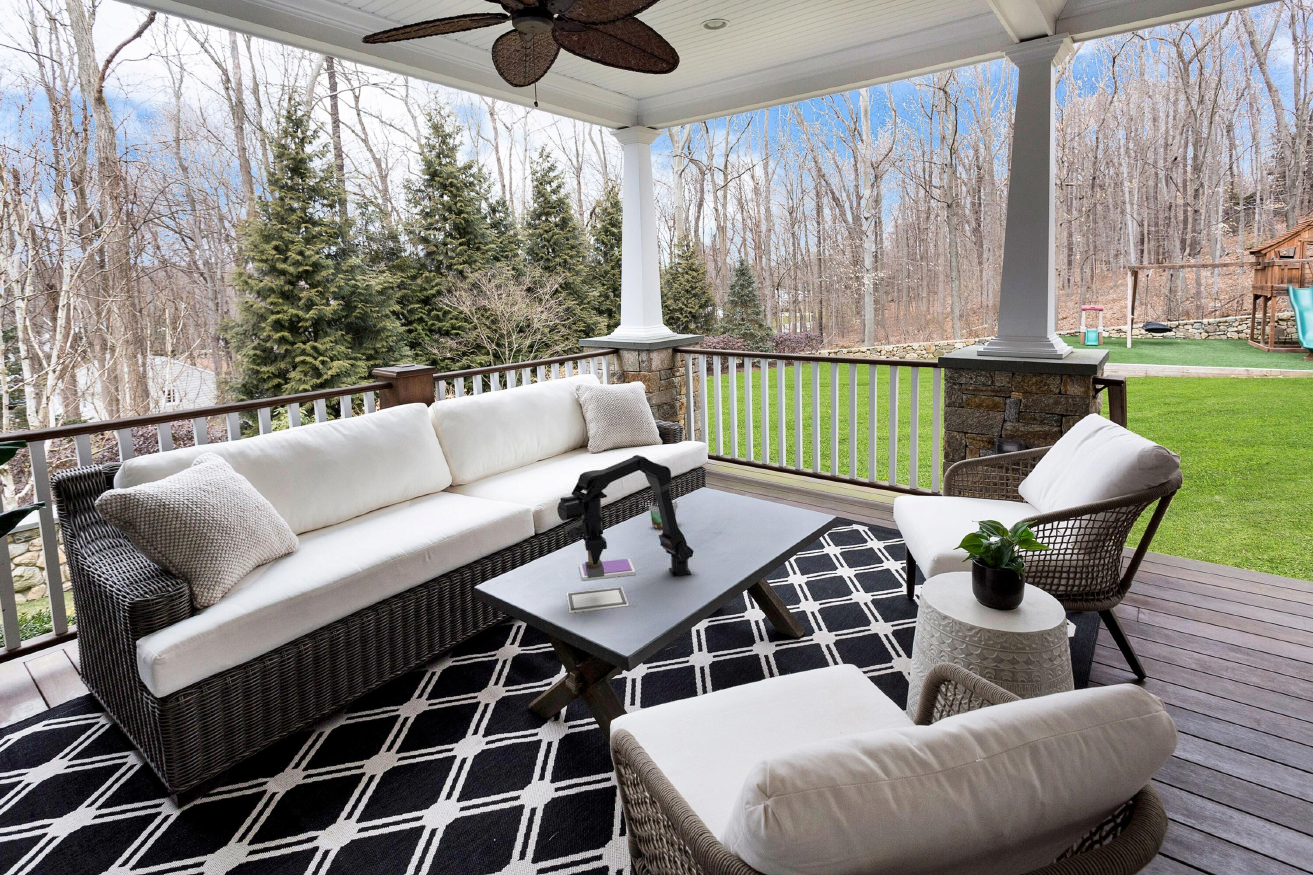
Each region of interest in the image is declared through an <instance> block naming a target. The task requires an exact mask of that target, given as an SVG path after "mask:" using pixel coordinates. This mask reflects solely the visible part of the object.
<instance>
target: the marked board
mask: <svg viewBox="0 0 1313 875" xmlns="http://www.w3.org/2000/svg"><path fill="white" fill-rule="evenodd" d="M566 598H567V599H566V601H567V600H568V601H567V606H568V611H569V614H574V612H576V613H583V612H582V611H584V612H591V611H592V612H593V611H600V610H607V609H608V610H609V609H615V608H623V607H629V606H630V605H629V602H628V599H627V596H626V594H625V592H624V589H623V586H617V587H609V588H608V587H607V588H599V589H591V590H590V589H589V590H582V591H572V592H566Z"/></svg>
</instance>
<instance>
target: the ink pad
mask: <svg viewBox="0 0 1313 875" xmlns="http://www.w3.org/2000/svg"><path fill="white" fill-rule="evenodd" d="M602 564H603V568H604V576H603V577H594V578H588V576H587V573H586V566H585V562H583V563H578V567H579V572H580V576H581V581H583V582H584V580H585V581H593V580H601V579H603V580H604V579H609V578H618V576H620V577H628V575H629V576H636V570H635V567H634V565H633V563H632V560H631V559H630V558H624V559H623V558H622V559H613V560H604V561H602Z"/></svg>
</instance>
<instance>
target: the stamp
mask: <svg viewBox="0 0 1313 875" xmlns="http://www.w3.org/2000/svg"><path fill="white" fill-rule="evenodd" d="M602 562H603V561H602V560H601V557H600V558H599V561H598V563H597V564H595V565H594V564H593V560H592V556H591V552H590V551H587V561H585V562H584V563H585V566H586V573H587V576H588V578H594V577H603V576H604V568H603V564H602Z"/></svg>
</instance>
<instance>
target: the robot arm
mask: <svg viewBox="0 0 1313 875" xmlns="http://www.w3.org/2000/svg"><path fill="white" fill-rule="evenodd" d="M639 471H640V472H641V473H643V474H644V475H645V478H646V480H647V483H648V484H649V485H650V487H651V488H652V490H653V492H654V493H655V494H654V496H655V499H656V502H657V503H656V505H658V508H659V512H660V516H661V521H662V525H663V530H662V533H661V534H659V535H658V539H659V541H660V545H659V546H661V547H662V549H664V550H665V552H666V554H669V555H670V564H671V565H670V566H671V567H669V568H668V571H669V572H670V574H671V577H679V576H688V575H691V574H692V571H691V570H690V568H689V559H690V558H692V557H693V556H694V555H693V554H694V549H693V548H691V547H690V546H689V545H688V542H687V540H686V538H685V535H684V534H683V532H682V530H680V528H679V526H678V522H677V517H675V512H674V508H673V504H672V503H673V500H672V495H671V491H670V488H671V485H672V471H671V469H670V468H669V467H668V466H667V465H664V464H663V465H662V464H661V463H656V462H655V461H654V462H653V461H652V460H650V459H648V458H647V457H645V456H643V455H639V454H635V455H633V456H632V457H630V458H628V459H625V460H623V461H621V462H618V463H615V464H613V465H611V466H608V467H606V468H603V469H595V470H593V469H592V470H589V471H584V472H582V473H581V474H579V477H578V480H577V483H576V484H575V487H574V488H573V490H572V492H571V496H566V497H565V496H562V497H560V500H559V502H558V505H557V508H556V509H557V510H556V511H557V515H558V517H559V519H560V520H561V521H562V522H566V521H570V520H573V519H578V518H581V520H579V521H576V522H574V523H571V524H569V525H567V526H565V527H564V532H565V535H566V537H567V539H568V541H569V542H571V541H574V539H576V538H578V537H582V540H583V541H584V548H585V551H587V552H588V551H590V552H591V556H592V560H593V564H594V565H595V564H597V563H598V561H599V558H600V559H601V556H602V553H603V550H607V548H608V543H607V540H606V538H605V537H604V536H602V535H604V530H603V516H602V501H601V499H605V498H607V497H608V495H607V494H605V493H604V492H603V491H604V490H606V489H607V487H608V486H609V485H610V484H612V483H613V482H615V481H617V480H620V479H622V478H624V477H627V476H630V475H631V474H634V473H636V472H639ZM583 491H584V492H583ZM585 492H586V493H585Z"/></svg>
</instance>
